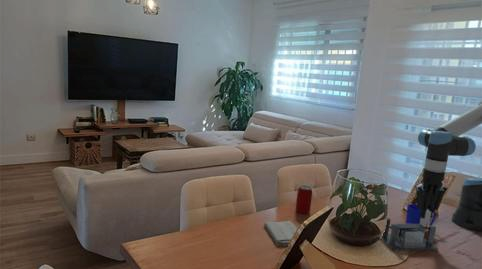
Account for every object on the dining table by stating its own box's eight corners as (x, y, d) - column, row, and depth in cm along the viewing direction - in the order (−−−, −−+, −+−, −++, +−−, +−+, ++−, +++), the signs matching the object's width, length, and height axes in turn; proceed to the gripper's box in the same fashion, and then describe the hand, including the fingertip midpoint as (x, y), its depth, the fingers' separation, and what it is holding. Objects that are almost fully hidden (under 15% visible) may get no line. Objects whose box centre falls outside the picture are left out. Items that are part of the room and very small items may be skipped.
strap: (427, 225, 146) (427, 222, 146) (433, 230, 142) (434, 227, 142) (386, 225, 143) (386, 222, 143) (391, 230, 139) (392, 227, 139)
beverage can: (311, 211, 168) (315, 187, 166) (306, 215, 162) (309, 190, 160) (298, 207, 171) (301, 184, 169) (293, 211, 166) (296, 187, 164)
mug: (435, 235, 154) (439, 213, 152) (406, 230, 156) (410, 209, 154) (429, 227, 162) (433, 207, 160) (401, 223, 164) (405, 202, 162)
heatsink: (418, 236, 151) (421, 216, 149) (437, 250, 139) (442, 229, 138) (375, 235, 148) (378, 215, 146) (391, 250, 136) (395, 228, 134)
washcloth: (277, 247, 131) (278, 240, 130) (262, 226, 148) (263, 219, 147) (306, 246, 134) (307, 239, 133) (289, 225, 151) (289, 218, 150)
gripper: (442, 167, 144) (432, 221, 148) (413, 166, 142) (403, 221, 146) (456, 173, 137) (445, 229, 141) (425, 171, 134) (414, 229, 138)
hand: (424, 225), depth 143 cm, fingers closed, pressing on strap
